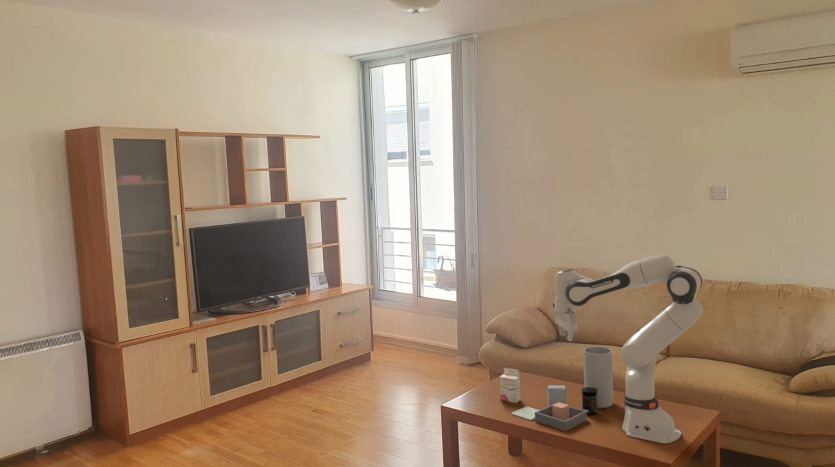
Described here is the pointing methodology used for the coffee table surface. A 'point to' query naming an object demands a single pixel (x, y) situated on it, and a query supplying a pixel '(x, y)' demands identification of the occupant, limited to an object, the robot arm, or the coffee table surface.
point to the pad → (525, 413)
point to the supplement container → (589, 400)
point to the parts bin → (545, 418)
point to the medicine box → (556, 394)
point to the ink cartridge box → (510, 386)
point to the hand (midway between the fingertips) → (566, 338)
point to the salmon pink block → (560, 411)
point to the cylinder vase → (599, 374)
